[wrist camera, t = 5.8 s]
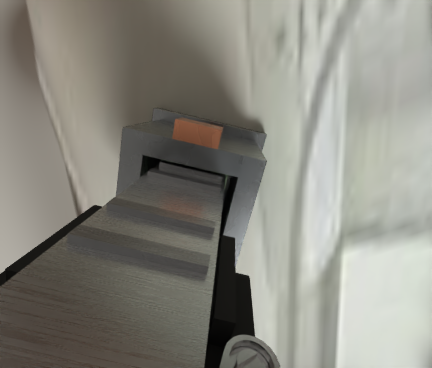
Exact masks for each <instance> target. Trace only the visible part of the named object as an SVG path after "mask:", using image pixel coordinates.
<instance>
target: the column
mask: <svg viewBox="0 0 432 368" xmlns="http://www.w3.org/2000/svg"><path fill="white" fill-rule="evenodd" d="M227 178H228V175H226V174H222V173H218V172H213V171H209V170H205V169H201V168H196V167H192V166H188V165H184V164H179V163H175V162H171V161H167V160H162V159H161V162H160V163H158V164H157V165H156V166H154V167H153V168H152V169H150V170H149V171H148V172H147V173H145V174H144V175H143V176H142V177H140V178H139V179H138V180H136V181H135V182H134V183H133V184H131V185H130V186H129V187H127V188H126V189H125V190H124V191H122V192H121V193H120V194H118V195H117V196H116V197H115V198H113V199H112V200H110V201H109V202H108V203H107V204H106V205H104V206H103V207H102V208H101V209H99V210H98V211H97V212H95V213H94V214H93V215H92V216H90V217H89V218H88V219H86V220H85V221H84V222H83V223H81V224H79V225H78V226H77V227H76V228H74V229H73V230H72V231H70V232H69V233H68V234H67V235H66V236H65V237H63V238H62V239H61V240H59V241H58V242H57V243H56V244H54V245H53V246H52V247H50V248H49V249H48V250H47V251H45V252H44V253H43V254H41V255H40V256H39V257H38V258H36V259H35V260H34V261H33V262H31V263H30V264H29V265H27V266H26V267H25V268H24V269H22V270H21V271H20V272H18V273H17V274H16V275H15V276H13V277H12V278H11V279H9V280H8V281H7V282H6V283H4V284H3V285H2V286H0V368H204V364H205V356H206V347H207V338H208V329H209V320H210V311H211V303H212V294H213V285H214V276H215V267H216V258H217V250H218V241H219V232H220V223H221V214H222V205H223V197H224V190H225V186H226V182H227Z"/></svg>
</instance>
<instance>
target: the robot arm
mask: <svg viewBox="0 0 432 368" xmlns="http://www.w3.org/2000/svg"><path fill="white" fill-rule="evenodd" d="M101 208H102V206H97V205H94V206H92V207H91V208H89V209H88V210H87V211H85V212H84V213H82V214H81V215H80V216H78V217H77V218H76V219H74V220H73V221H71V222H70V223H69V224H68V225H66V226H64V227H63V228H62V229H60V230H59V231H57V232H56V233H55V234H53V235H52V236H51V237H49V238H48V239H47V240H45V241H44V242H42V243H41V244H39V245H38V246H37V247H35V248H34V249H32V250H31V251H30V252H28V253H27V254H26V255H24V256H23V257H21V258H20V259H19V260H17V261H16V262H14V263H13V264H12V265H10V266H9V267H7V268H6V269H5V271H4V272H2V273H1V274H0V286H2V285H3V284H4V283H6V282H7V281H8V280H9V279H11V278H12V277H13V276H15V275H16V274H17V273H18V272H20V271H21V270H22V269H24V268H25V267H26V266H27V265H29V264H30V263H31V262H33V261H34V260H35V259H36V258H38V257H39V256H40V255H41V254H43V253H44V252H45V251H47V250H48V249H49V248H50V247H52V246H53V245H54V244H56V243H57V242H58V241H59V240H61V239H62V238H63V237H65V236H66V235H67V234H68V233H69V232H70V231H72V230H73V229H74V228H76V227H77V226H78V225H79V224H81V223H83V222H84V221H85V220H86V219H88V218H89V217H90V216H92V215H93V214H94V213H95V212H97V211H98V210H99V209H101ZM204 368H280V364H279V362H278V359H277V357H276V355H275V354H274V352H273V351H272V349H271V348H270V347H269V346H268V345H267V344H266V343H264V342H263V341H262V340H260V339H258V338H256V337H255V332H254V320H253V309H252V298H251V287H250V278H249V276H248V275H243V274H239V273H235V238H234V237H230V236H225V235H221V238H219V241H218V250H217V258H216V267H215V276H214V285H213V294H212V303H211V311H210V320H209V329H208V338H207V347H206V356H205V364H204Z"/></svg>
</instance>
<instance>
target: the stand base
mask: <svg viewBox="0 0 432 368" xmlns="http://www.w3.org/2000/svg"><path fill="white" fill-rule="evenodd" d="M265 139H266V134H265V133H262V132H258V131H253V130H249V129H245V128H241V127H236V126H232V125H228V124H224V123H219V122H215V121H211V120H207V119H202V118H198V117H194V116H190V115H185V114H181V113H177V112H173V111H168V110H164V109H160V108H154V110H153V117H152V121H150V122H145V123H140V124H135V125H131V126H126V127H123V130H122V140H121V150H120V161H119V171H118V181H117V191H116V196H117V195H118V194H120V193H121V192H122V191H124V190H125V189H126V188H127V187H129V186H130V185H131V184H133V183H134V182H135V181H136V180H138V179H139V178H140V177H142V176H143V175H144V174H145V173H147V172H148V171H149V170H150V169H152V168H153V167H154V166H156V165H157V164H158V163H160V162H161V159H162V160H167V161H171V162H175V163H179V164H184V165H188V166H192V167H196V168H201V169H205V170H209V171H213V172H218V173H222V174H226V175H228V178H227V182H226V186H225V190H224V197H223V205H222V214H221V223H220V232H219V238H221V235H225V236H230V237H234V238H235V267H236V263H237V260H238V256H239V253H240V250H241V246H242V243H243V240H244V236H245V233H246V230H247V226H248V223H249V219H250V216H251V213H252V209H253V206H254V203H255V199H256V196H257V193H258V189H259V186H260V182H261V179H262V176H263V172H264V169H265V166H266V162H267V160H266V159H265V157H264V155H263V153H262V149H263V146H264V142H265Z"/></svg>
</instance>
